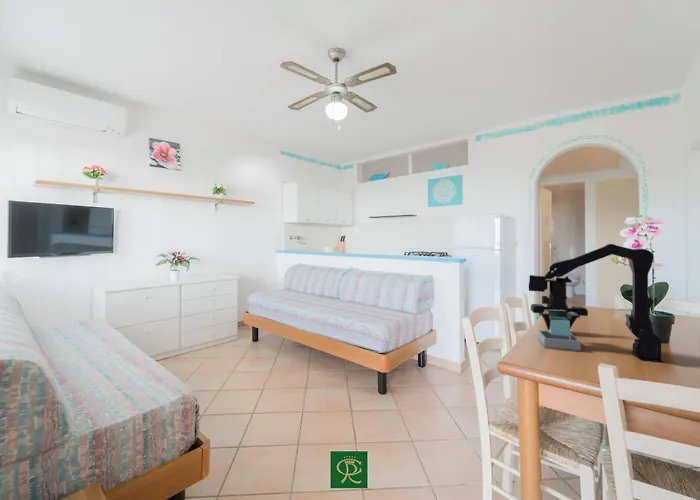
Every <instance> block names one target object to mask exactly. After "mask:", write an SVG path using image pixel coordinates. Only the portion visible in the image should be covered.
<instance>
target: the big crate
mask: <svg viewBox="0 0 700 500" xmlns="http://www.w3.org/2000/svg"><path fill="white" fill-rule="evenodd" d="M537 341H538V342H539V343H540V344H541V346H542V347H543V348H544V349H548V350H557V351H558V350H560V351H569V352H570V351H571V352H582V349H581V348H582V347H581V345H582V343H581V342H582V340H581V341H580V339H578V338H577V337H576V336H575V335H574V334H573V333H571V332H570V336H561V335H551V334H550V333H549V332H548V331H547V330H541V329H540V330H539V329H538V330H537Z"/></svg>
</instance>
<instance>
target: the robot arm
mask: <svg viewBox="0 0 700 500" xmlns="http://www.w3.org/2000/svg"><path fill="white" fill-rule="evenodd" d="M611 255H613V256H617V257H621V258H624V259H627V260H628V265H629V268H630V270H631V274H632V279H631V280H632V281H631V282H632V296H631V297H632V306H631V307H632V310H631V313H630V314H628V313H626V314H625V319H626V322H625V324H624V325H625V326H626V327H627V329H629V331H630V332H631V334H633V336H634V337H636V338H634V342H633V343H632V352H631V354H632V355H633V356H635V357H636V358H638V359H639V360H640V361H650V362H658V363H659V362H660V363H665V360H664V359H662V343H663V339H662V338H661V337H659V336H658V335H657V334H656V333H655V332H654V329H653V324H652V321H651V317H650V314H649V273H650V270H651V269H652V265H653V261H654V254H653V252H651V251H650V250H649V249H646V248H634V249H633V248H628V247H625V246H620V245H616V244H614V243H608V244H606V245H603V246H601V247H599V248H596V249H594V250H591V251H589V252H588V251H587V253H586V252H585V253H583V254H581V255H578V256H576V257H572V258H569V259H564V260H561V261H560V260H559V261H555V262H553V263H551V265H549V270H548V271H547V272H546V273H545V274H544V275H533V274H530V275H529V279H528V291H530V292H539V293H540V292H543V293H545V291H547V290H548V287H549V295H548V296H547V295H542V296H541V303H532V304H531V305H530V311H531V313H533V314H538V315H540V316H542V318H543V321H544V324H545V326H546V330H547V329H548V330H549V328H550V325H549V314H548V311H552V312H568V313H567V316H568V320H569V321H570V329H572V326H573V324H574V323H575V321H576V320H577V319H579V318H581V316H582V317H588V316H589V312H588V309H587V308H586V307H585V306H582V305H572V306H571V307H568V308H567V305H568V303H567V300H568V296H567V283H569V284H571V283H573V280H572V279H571V278H569V276H568V275H567V274H568V273H571V272H573V271H574V270H575V269H577V268H578V267H581V266H582V267H583V266H585V265H587V264H590V263H592V262H595V261H598V260H601V259H603V258H606V257H609V256H611ZM565 275H566V276H565ZM563 276H564V277H563ZM554 278H556V279H554ZM548 284H549V286H548ZM543 304H544V305H545V304H546V306H544V305H543Z"/></svg>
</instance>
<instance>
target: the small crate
mask: <svg viewBox="0 0 700 500" xmlns="http://www.w3.org/2000/svg"><path fill="white" fill-rule="evenodd" d="M549 325H550V328H549V330H548V329H547V328H546V331H548V332H549V333H550V334H551V335H561V336H570V333H571V328H570V321H569V320H568V319H566V318H565V317H549Z"/></svg>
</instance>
